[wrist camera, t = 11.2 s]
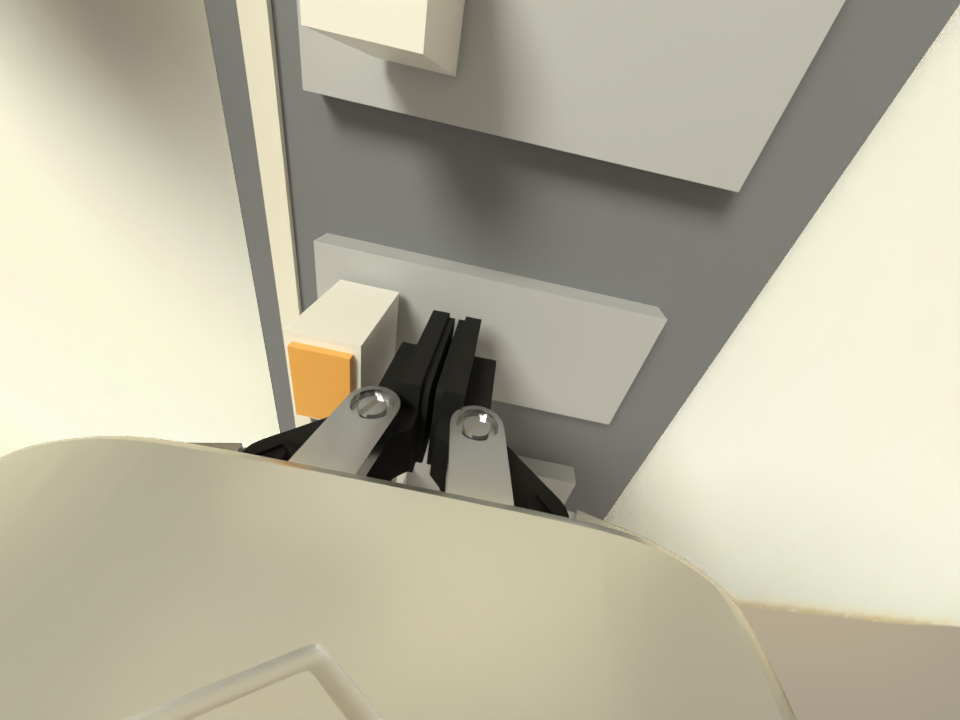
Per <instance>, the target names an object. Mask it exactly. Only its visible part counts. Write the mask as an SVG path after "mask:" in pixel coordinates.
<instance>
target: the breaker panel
mask: <svg viewBox="0 0 960 720" xmlns="http://www.w3.org/2000/svg"><path fill="white" fill-rule="evenodd" d="M204 3H205V9H206V14H207V20H208V26H209V31H210V37H211V43H212V48H213V54H214V60H215V65H216V71H217V77H218V82H219V88H220V94H221V99H222V105H223V111H224V116H225V122H226V128H227V133H228V139H229V145H230V150H231V156H232V162H233V167H234V173H235V179H236V184H237V190H238V196H239V201H240V207H241V213H242V218H243V224H244V230H245V235H246V241H247V247H248V252H249V258H250V264H251V269H252V275H253V281H254V286H255V292H256V298H257V303H258V309H259V315H260V320H261V326H262V332H263V337H264V343H265V349H266V354H267V360H268V366H269V371H270V377H271V383H272V389H273V394H274V400H275V406H276V411H277V417H278V423H279V428H280V433H282V432H285V431H288V430H291V429H294V428H297V427H300V426H303V425H306V424H309V423H311V422H314V421H317V420H318V419H313V418H308V417H304V416H299V415H295V412H294V404H293V397H292V390H291V383H290V375H289V368H288V361H287V354H286V346H285V339H284V332H283V329H285V328H286V327H287V326H288V325H289V324H290V323H291V322H293V321H294V320H295V319H296V318H297V317H298V316H299V315H301V314H302V313H303V312H304V311H305V310H306V309H307V308H309V307H310V306H311V305H312V304H313V303H314V302H315V301H317V300H318V299H319V298H320V297H321V296H322V295H323V294H325V293H326V292H327V291H328V290H329V289H330V288H331V287H333V286H334V285H335V284H336V283H337V282H338V281H339V280H346V281H350V282H355V283H359V284H364V285H368V286H373V287H377V288H382V289H387V290H391V291H396V292H399V304H398V318H397V332H396V347H395V354H396V352H397V351H398V349H399V347H400V345H401V344H402V342H407V343H412V344H417V343H418V341H419V339H420V337H421V335H422V333H423V331H424V329H425V327H426V325H427V323H428V320H429V318H430V316H431V314H432V312H433V310H437V311H442V312H447V313H450V317H451V318H455V325H454V331H453V336H454V333H455V330H456V327H457V324H458V321H459V319H461V320H465V318H466V316H467V317H472V318H477V319H482V321H481V326H480V331H479V336H478V342H477V347H476V352H475V356H477V357H482V358H487V359H492V360H496V369H495V377H494V385H493V393H492V402H491V410H492V411H493V412H494V413H496V414H497V415H498V416H499V417H500V419H501V420H502V422H503V425H504V431H505V439H506V445H507V446H508V447H509V448H510V449H511V450H512V451H513V452H514V453H515V454H516V455H517V456H518V457H519V458H520V459H521V460H522V461H523V462H524V463H525V464H526V465H527V466H528V467H529V468H530V470H531V471H532V472H533V473H534V474H535V475H536V476H537V477H538V478H539V479H540V480H541V481H542V482H543V483H544V484H545V485H546V486H547V487H548V488H549V489H550V490H551V491H552V492H553V493H554V494H555V495H556V496H557V497H558V498H559V499H560V500H561V502H562V503H563V504H564V506H565V507H566V510H568V511H570V512H573V513H576V511H577V510H579V511H582V512H584V513H586V514H589V515H591V516H594V517H596V518H598V519H601V520H603V519H604V518H605V516H606V515H607V514H608V512H609V511H610V509H611V508H612V506H613V505H614V503H615V502H616V501H617V499H618V498H619V496H620V495H621V493H622V492H623V490H624V489H625V488H626V486H627V485H628V483H629V482H630V480H631V479H632V477H633V476H634V475H635V473H636V472H637V470H638V469H639V467H640V466H641V464H642V463H643V461H644V460H645V459H646V457H647V456H648V454H649V453H650V451H651V450H652V448H653V447H654V446H655V444H656V443H657V441H658V440H659V438H660V437H661V435H662V434H663V433H664V431H665V430H666V428H667V427H668V425H669V424H670V422H671V421H672V420H673V418H674V417H675V415H676V414H677V412H678V411H679V409H680V408H681V406H682V405H683V404H684V402H685V401H686V399H687V398H688V396H689V395H690V393H691V392H692V391H693V389H694V388H695V386H696V385H697V383H698V382H699V380H700V379H701V378H702V376H703V375H704V373H705V372H706V370H707V369H708V367H709V366H710V365H711V363H712V362H713V360H714V359H715V357H716V356H717V354H718V353H719V351H720V350H721V349H722V347H723V346H724V344H725V343H726V341H727V340H728V338H729V337H730V336H731V334H732V333H733V331H734V330H735V328H736V327H737V325H738V324H739V323H740V321H741V320H742V318H743V317H744V315H745V314H746V312H747V311H748V310H749V308H750V307H751V305H752V304H753V302H754V301H755V299H756V298H757V297H758V295H759V294H760V292H761V291H762V289H763V288H764V286H765V285H766V283H767V282H768V281H769V279H770V278H771V276H772V275H773V273H774V272H775V270H776V269H777V268H778V266H779V265H780V263H781V262H782V260H783V259H784V257H785V256H786V255H787V253H788V252H789V250H790V249H791V247H792V246H793V244H794V243H795V242H796V240H797V239H798V237H799V236H800V234H801V233H802V231H803V230H804V228H805V227H806V226H807V224H808V223H809V221H810V220H811V218H812V217H813V215H814V214H815V213H816V211H817V210H818V208H819V207H820V205H821V204H822V202H823V201H824V200H825V198H826V197H827V195H828V194H829V192H830V191H831V189H832V188H833V187H834V185H835V184H836V182H837V181H838V179H839V178H840V176H841V175H842V173H843V172H844V171H845V169H846V168H847V166H848V165H849V163H850V162H851V160H852V159H853V158H854V156H855V155H856V153H857V152H858V150H859V149H860V147H861V146H862V145H863V143H864V142H865V140H866V139H867V137H868V136H869V134H870V133H871V132H872V130H873V129H874V127H875V126H876V124H877V123H878V121H879V120H880V118H881V117H882V116H883V114H884V113H885V111H886V110H887V108H888V107H889V105H890V104H891V103H892V101H893V100H894V98H895V97H896V95H897V94H898V92H899V91H900V90H901V88H902V87H903V85H904V84H905V82H906V81H907V79H908V78H909V77H910V75H911V74H912V72H913V71H914V69H915V68H916V66H917V65H918V63H919V62H920V61H921V59H922V58H923V56H924V55H925V53H926V52H927V50H928V49H929V48H930V46H931V45H932V43H933V42H934V40H935V39H936V37H937V36H938V35H939V33H940V32H941V30H942V29H943V27H944V26H945V24H946V23H947V22H948V20H949V19H950V17H951V16H952V14H953V13H954V11H955V10H956V8H957V7H958V6H959V4H960V0H465V4H464V13H463V21H462V29H461V37H460V45H459V54H458V62H457V70H456V77H455V76H450V75H446V74H442V73H438V72H434V71H429V70H425V69H421V68H417V67H413V66H409V65H404V64H400V63H396V62H392V61H388V60H383V59H379V58H375V57H373V56H370V55H368V54H366V53H364V52H361V51H359V50H357V49H355V48H352V47H350V46H348V45H345V44H343V43H341V42H339V41H336V40H334V39H332V38H330V37H327V36H325V35H323V34H321V33H318V32H316V31H314V30H311V29H309V28H307V27H305V26H302V25H301V13H300V0H204ZM452 339H453V338H452ZM429 440H430V439H429ZM428 448H429V442H428V446H427V449H426V452H425V456H424V459H423V462H422V463H418V462H416V463H415V467H414V470H413V473H412V472H407V479H406V484H407V485H412V486H417V487H422V488H427V489H432V490H437V491H439V487H438V486H437V484H436V483H435V482H434V480H433V479H432V477H431V476H430V468H431V465H428V464H427V456H428Z"/></svg>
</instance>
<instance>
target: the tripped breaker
mask: <svg viewBox="0 0 960 720" xmlns="http://www.w3.org/2000/svg"><path fill="white" fill-rule="evenodd" d="M398 304H399V292H396V291H391V290H387V289H382V288H377V287H373V286H368V285H364V284H359V283H355V282H350V281H346V280H339V281H338V282H337V283H336V284H335V285H334V286H333V287H331V288H330V289H329V290H328V291H327V292H326V293H325V294H323V295H322V296H321V297H320V298H319V299H318V300H317V301H315V302H314V303H313V304H312V305H311V306H310V307H309V308H307V309H306V310H305V311H304V312H303V313H302V314H301V315H299V316H298V317H297V318H296V319H295V320H294V321H293V322H291V323H290V324H289V325H288V326H287V327H286V328H285V329H283V332H284V339H285V346H286V354H287V361H288V368H289V375H290V383H291V390H292V397H293V404H294V412H295V415H299V416H304V417H308V418H313V419H318V420H320V419H323V418H326V417H329V416H330V415H331V413H332V412H333V411H334V410H335V409H336V408H337V407H338V406H339V405H340V404H341V403H342V401H343V400H344V399H345V398H346V397H347V396H348V395H349V394H350V393H352V392H353V391H355V390H357V389H359V388H362V387H366V386H378V385H379V383H380V382H381V380H382V378H383V376H384V374H385V372H386V371H387V369H388V367H389V365H390V363H391V362H392V360H393V358H394V356H395V347H396V332H397V318H398Z"/></svg>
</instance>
